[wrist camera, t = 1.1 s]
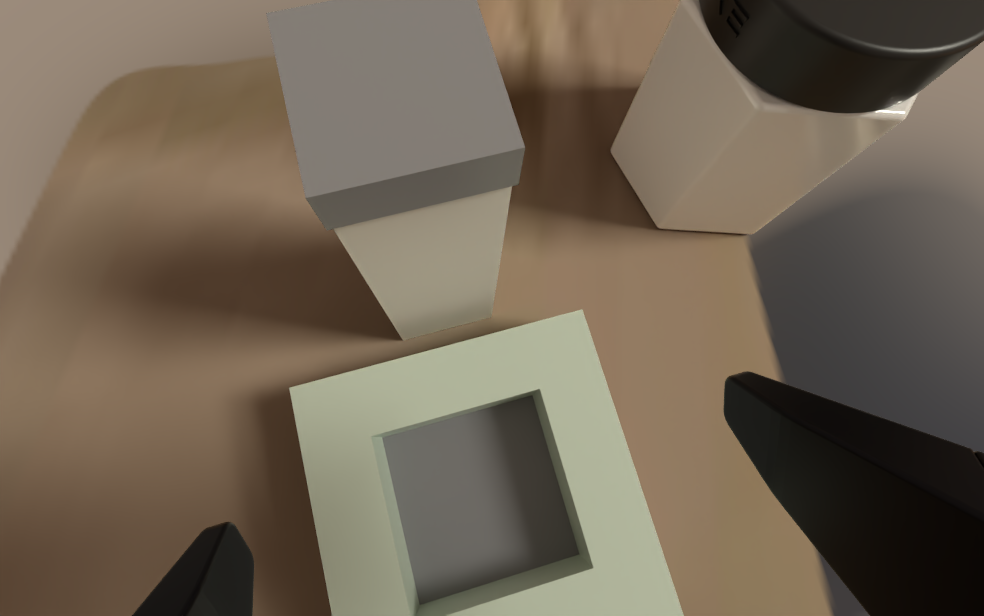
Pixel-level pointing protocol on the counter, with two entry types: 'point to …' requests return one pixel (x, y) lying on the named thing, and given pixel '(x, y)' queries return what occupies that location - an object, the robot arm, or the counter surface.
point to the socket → (480, 483)
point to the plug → (404, 148)
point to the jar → (776, 99)
